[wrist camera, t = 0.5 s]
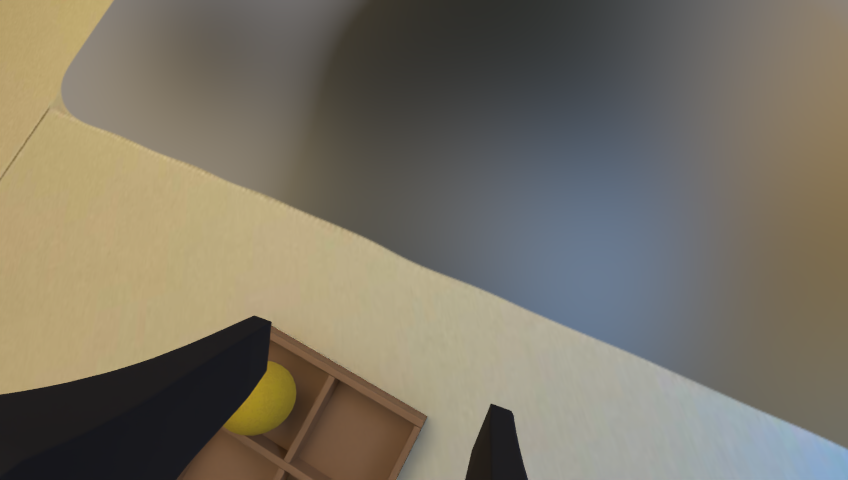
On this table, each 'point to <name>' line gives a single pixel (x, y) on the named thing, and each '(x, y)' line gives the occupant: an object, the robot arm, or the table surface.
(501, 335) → the table surface
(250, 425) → the lemon
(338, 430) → the divided wooden tray
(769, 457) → the table surface
